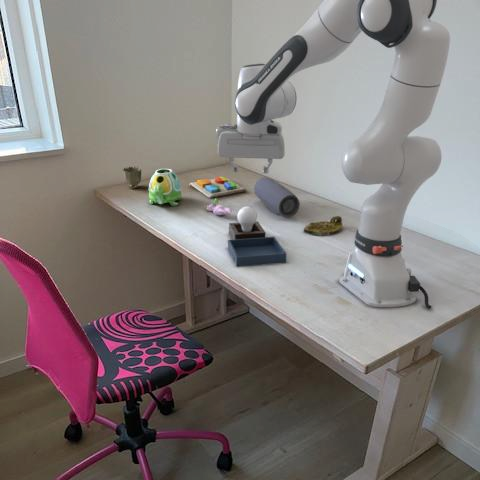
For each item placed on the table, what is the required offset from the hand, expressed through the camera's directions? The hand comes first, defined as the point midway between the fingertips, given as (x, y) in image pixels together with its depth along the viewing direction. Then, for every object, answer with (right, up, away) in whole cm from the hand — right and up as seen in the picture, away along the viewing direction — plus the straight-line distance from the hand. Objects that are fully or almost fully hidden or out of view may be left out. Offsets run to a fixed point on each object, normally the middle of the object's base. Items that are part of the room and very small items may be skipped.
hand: (250, 172), depth 155 cm
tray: (+2, -26, +1) cm, 26 cm away
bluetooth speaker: (+10, -4, +36) cm, 37 cm away
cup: (-47, +10, +55) cm, 74 cm away
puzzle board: (-12, +9, +55) cm, 57 cm away
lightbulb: (-1, -19, +12) cm, 22 cm away
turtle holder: (-32, 0, +40) cm, 51 cm away
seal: (+26, -15, +20) cm, 35 cm away
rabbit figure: (-11, -7, +31) cm, 33 cm away
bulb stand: (-1, -19, +12) cm, 22 cm away
